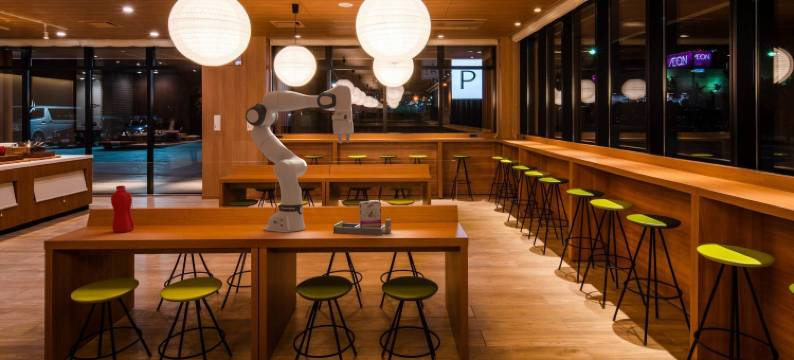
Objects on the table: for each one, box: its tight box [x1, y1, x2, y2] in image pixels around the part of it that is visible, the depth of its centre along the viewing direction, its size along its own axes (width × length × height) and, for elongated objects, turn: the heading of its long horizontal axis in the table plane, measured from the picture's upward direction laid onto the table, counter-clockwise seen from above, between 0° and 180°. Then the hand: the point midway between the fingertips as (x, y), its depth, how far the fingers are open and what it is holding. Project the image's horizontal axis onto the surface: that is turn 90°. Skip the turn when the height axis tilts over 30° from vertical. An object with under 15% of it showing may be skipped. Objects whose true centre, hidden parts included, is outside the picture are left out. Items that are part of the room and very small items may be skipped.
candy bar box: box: [358, 200, 382, 228], centre depth 282 cm, size 11×5×16 cm, turn 101°
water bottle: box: [110, 185, 135, 233], centre depth 286 cm, size 9×11×25 cm
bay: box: [333, 220, 383, 236], centre depth 284 cm, size 27×12×4 cm, turn 74°
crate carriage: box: [355, 218, 392, 234], centre depth 282 cm, size 18×9×7 cm, turn 74°
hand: (344, 142), depth 277 cm, fingers open, 8 cm apart
